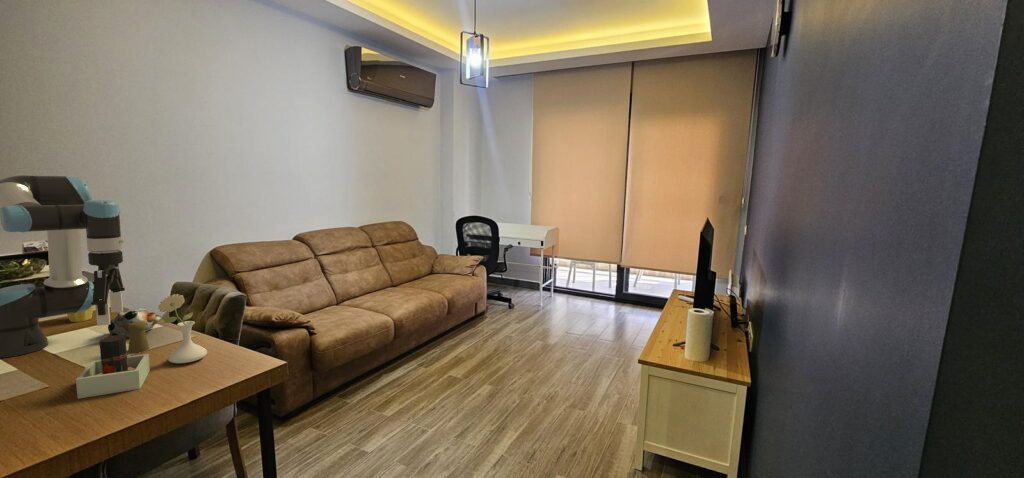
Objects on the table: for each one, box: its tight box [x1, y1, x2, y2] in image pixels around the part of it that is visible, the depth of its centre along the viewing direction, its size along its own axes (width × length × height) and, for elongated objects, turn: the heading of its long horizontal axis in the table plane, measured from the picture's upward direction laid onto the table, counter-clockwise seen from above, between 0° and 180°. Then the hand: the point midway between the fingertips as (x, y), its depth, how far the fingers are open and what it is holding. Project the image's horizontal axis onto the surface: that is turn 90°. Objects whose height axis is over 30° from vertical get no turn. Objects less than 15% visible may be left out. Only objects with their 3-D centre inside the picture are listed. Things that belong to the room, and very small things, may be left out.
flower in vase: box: [157, 293, 208, 364], centre depth 150 cm, size 13×11×25 cm
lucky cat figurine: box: [107, 307, 162, 339], centre depth 171 cm, size 15×12×14 cm
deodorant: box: [98, 335, 128, 375], centre depth 132 cm, size 6×6×15 cm
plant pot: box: [66, 305, 95, 323], centre depth 184 cm, size 10×10×10 cm
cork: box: [127, 321, 150, 354], centre depth 157 cm, size 6×6×11 cm
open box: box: [75, 353, 151, 400], centre depth 132 cm, size 14×14×6 cm
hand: (110, 318), depth 130 cm, fingers open, 13 cm apart
